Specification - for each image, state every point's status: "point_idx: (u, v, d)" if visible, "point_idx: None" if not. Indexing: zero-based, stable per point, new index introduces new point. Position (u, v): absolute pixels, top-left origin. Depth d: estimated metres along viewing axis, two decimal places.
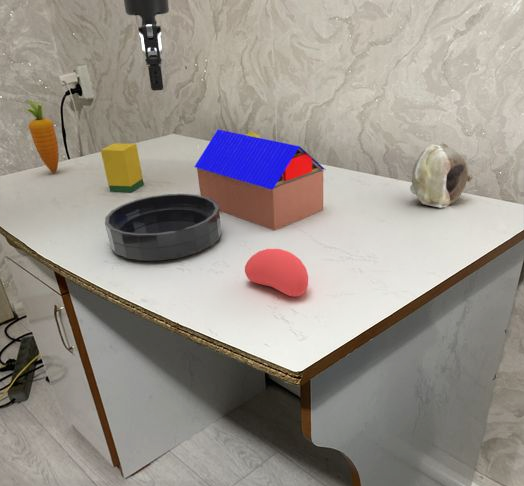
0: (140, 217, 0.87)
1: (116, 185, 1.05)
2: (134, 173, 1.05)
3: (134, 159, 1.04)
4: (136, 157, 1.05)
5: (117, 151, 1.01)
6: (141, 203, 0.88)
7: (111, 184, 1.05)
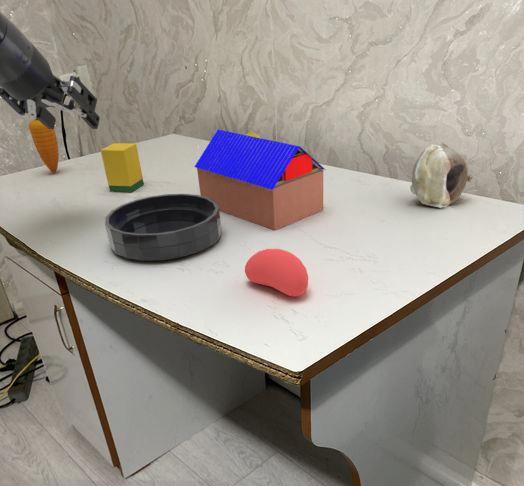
0: (140, 217, 0.87)
1: (116, 185, 1.05)
2: (134, 173, 1.05)
3: (134, 159, 1.04)
4: (136, 157, 1.05)
5: (117, 151, 1.01)
6: (141, 203, 0.88)
7: (111, 184, 1.05)
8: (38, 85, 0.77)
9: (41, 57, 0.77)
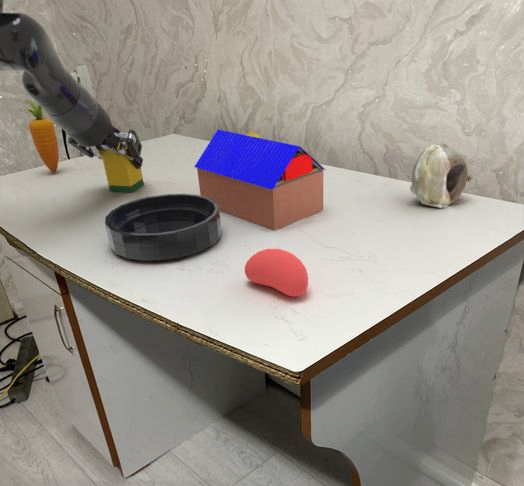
0: (140, 217, 0.87)
1: (116, 185, 1.05)
2: (134, 173, 1.05)
3: None
4: None
5: None
6: (141, 203, 0.88)
7: (111, 184, 1.05)
8: (101, 135, 0.93)
9: (104, 112, 0.92)
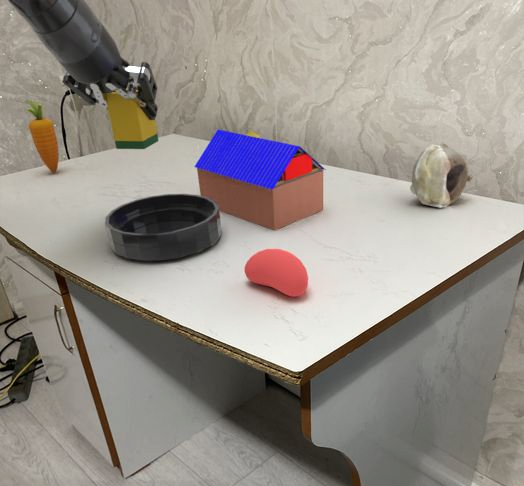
0: (140, 217, 0.87)
1: (124, 140, 0.83)
2: (147, 124, 0.83)
3: None
4: None
5: None
6: (141, 203, 0.88)
7: (118, 139, 0.84)
8: (105, 67, 0.71)
9: (109, 36, 0.70)
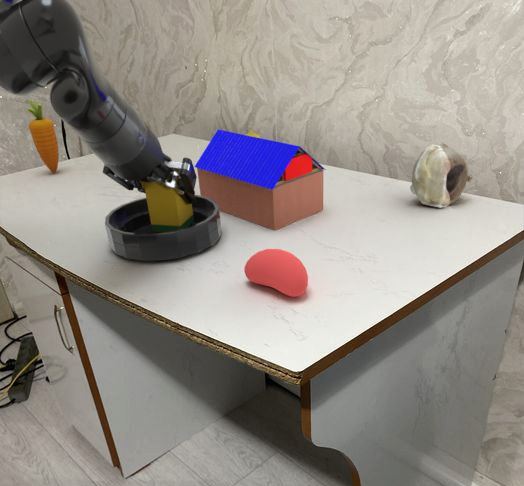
0: (140, 217, 0.87)
1: (161, 224, 0.83)
2: (184, 209, 0.83)
3: None
4: None
5: None
6: (141, 203, 0.88)
7: (155, 223, 0.83)
8: (149, 166, 0.71)
9: (153, 136, 0.70)
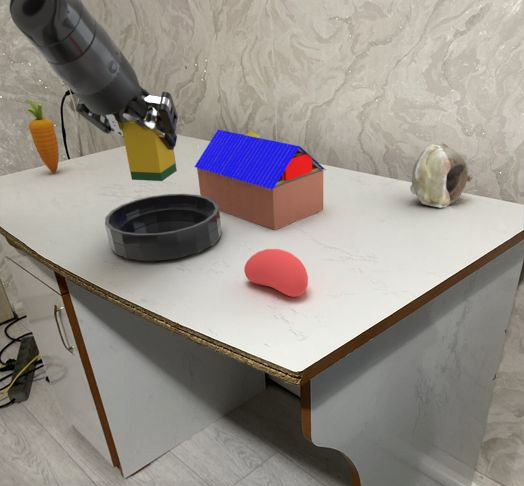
0: (140, 217, 0.87)
1: (141, 171, 0.77)
2: (165, 155, 0.77)
3: None
4: None
5: None
6: (141, 203, 0.88)
7: (134, 170, 0.78)
8: (124, 98, 0.65)
9: (128, 64, 0.64)
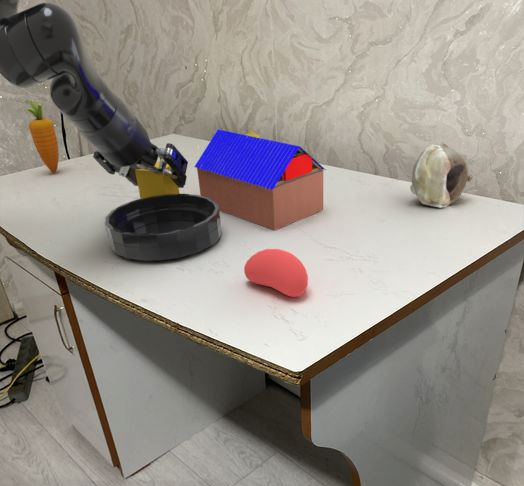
0: (140, 217, 0.87)
1: None
2: None
3: (172, 180, 0.92)
4: None
5: None
6: (141, 203, 0.88)
7: None
8: (138, 154, 0.80)
9: (141, 127, 0.79)
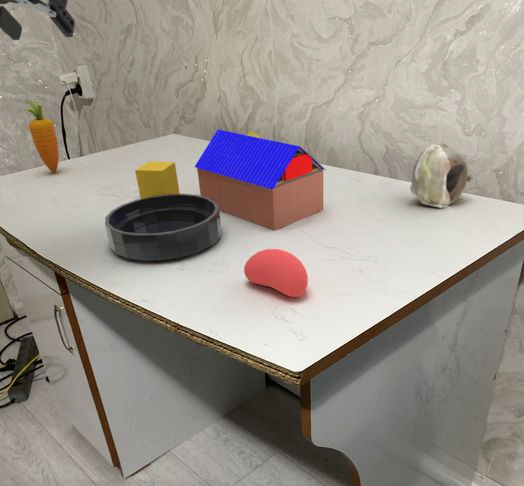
0: (140, 217, 0.87)
1: None
2: None
3: (172, 180, 0.92)
4: (174, 177, 0.92)
5: (154, 172, 0.88)
6: (141, 203, 0.88)
7: None
8: None
9: None
